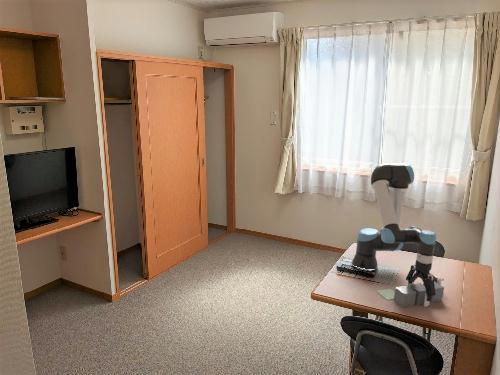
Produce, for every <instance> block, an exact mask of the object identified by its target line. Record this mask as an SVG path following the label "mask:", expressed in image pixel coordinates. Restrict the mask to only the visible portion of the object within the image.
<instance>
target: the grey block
mask: <svg viewBox="0 0 500 375" xmlns="http://www.w3.org/2000/svg"><path fill="white" fill-rule="evenodd" d="M394 292H395V293H394V299H393V302H394V303H396V304H397V305H399V306H400V307H401V308H403V309H404V308H408V307H414V306H415V297H416V292H415V291H414V290H412V289H411V288H409V287H408V285H402V286H396V287H395V288H394Z"/></svg>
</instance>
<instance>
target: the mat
mask: <svg viewBox="0 0 500 375" xmlns="http://www.w3.org/2000/svg"><path fill="white" fill-rule="evenodd" d="M376 293H377V294H378V295H380V296H381V297H383V299H385V300H386V301H392V300H394V293H395V290H393V289H391V288H388V289H387V288H386V289H381V290H376Z"/></svg>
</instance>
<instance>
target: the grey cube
mask: <svg viewBox="0 0 500 375" xmlns="http://www.w3.org/2000/svg"><path fill="white" fill-rule="evenodd" d="M422 285H424V282H422ZM434 285H435V294H436V295H435V296H431V301H430V302H429V303H435V302H440V301H442V300H443V296H444V291H445V286H442V284H441V285H440V284H438V283H436V282H435V281H434Z"/></svg>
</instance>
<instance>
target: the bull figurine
mask: <svg viewBox="0 0 500 375" xmlns="http://www.w3.org/2000/svg"><path fill="white" fill-rule="evenodd" d="M430 275H431V276H434V277H435V278H434V281H435V282H436V283H438V284H440V285H441V286H442V281H444V278H441V277H439V276H436V275H434V274H432V273H431V272H430ZM425 280H427V279H425Z"/></svg>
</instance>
